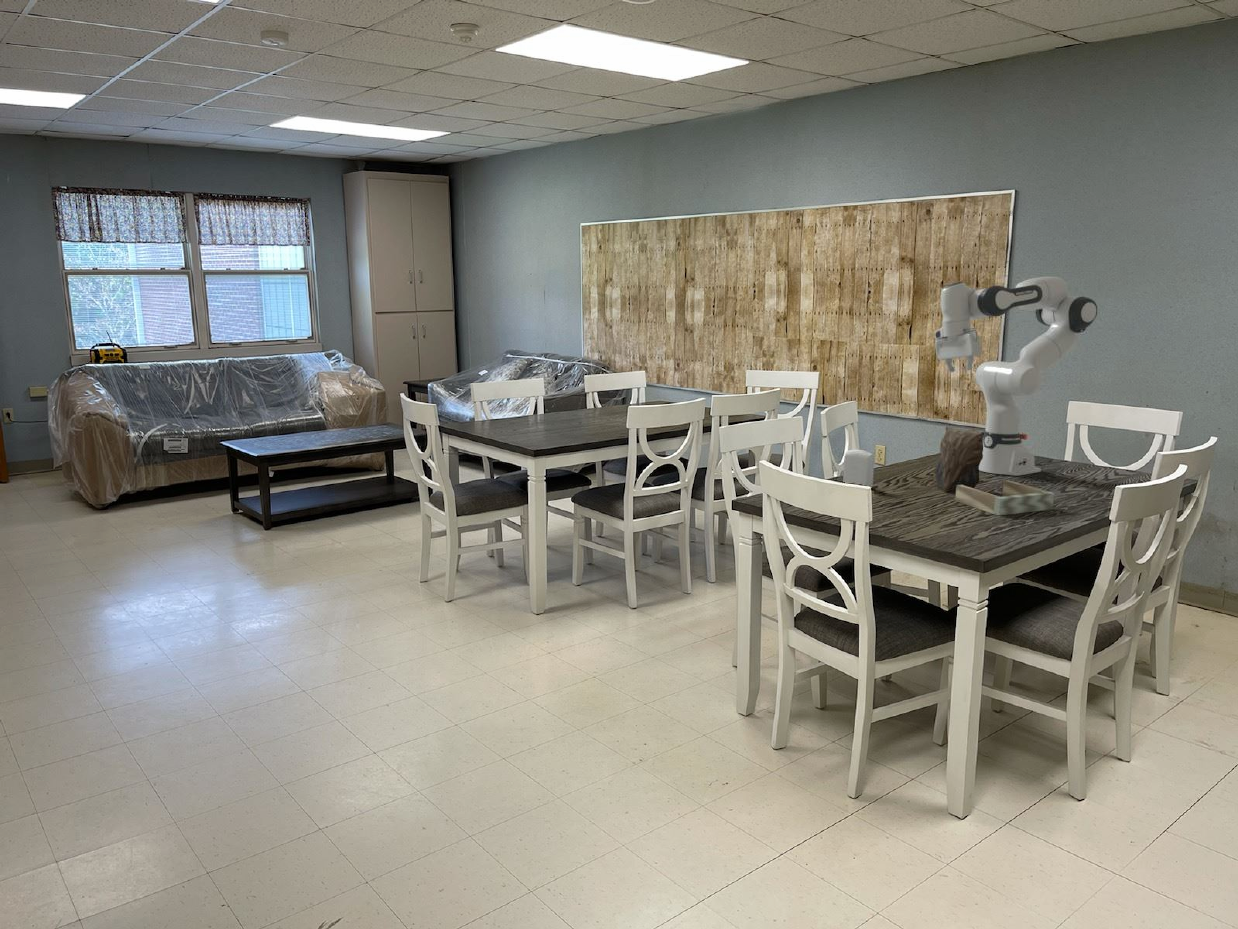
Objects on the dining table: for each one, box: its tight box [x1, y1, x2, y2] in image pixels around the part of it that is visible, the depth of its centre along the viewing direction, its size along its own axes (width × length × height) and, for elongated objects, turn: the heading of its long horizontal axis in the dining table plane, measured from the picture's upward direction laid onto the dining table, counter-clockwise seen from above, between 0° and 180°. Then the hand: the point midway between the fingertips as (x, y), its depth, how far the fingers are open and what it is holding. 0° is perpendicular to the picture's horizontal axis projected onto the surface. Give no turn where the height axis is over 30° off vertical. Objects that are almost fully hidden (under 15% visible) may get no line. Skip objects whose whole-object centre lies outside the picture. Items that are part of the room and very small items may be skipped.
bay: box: [954, 480, 1055, 516], centre depth 274 cm, size 21×18×5 cm
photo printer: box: [842, 449, 875, 488], centre depth 295 cm, size 10×4×12 cm, turn 39°
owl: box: [934, 426, 984, 494], centre depth 293 cm, size 13×13×20 cm
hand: (959, 371), depth 305 cm, fingers open, 8 cm apart
